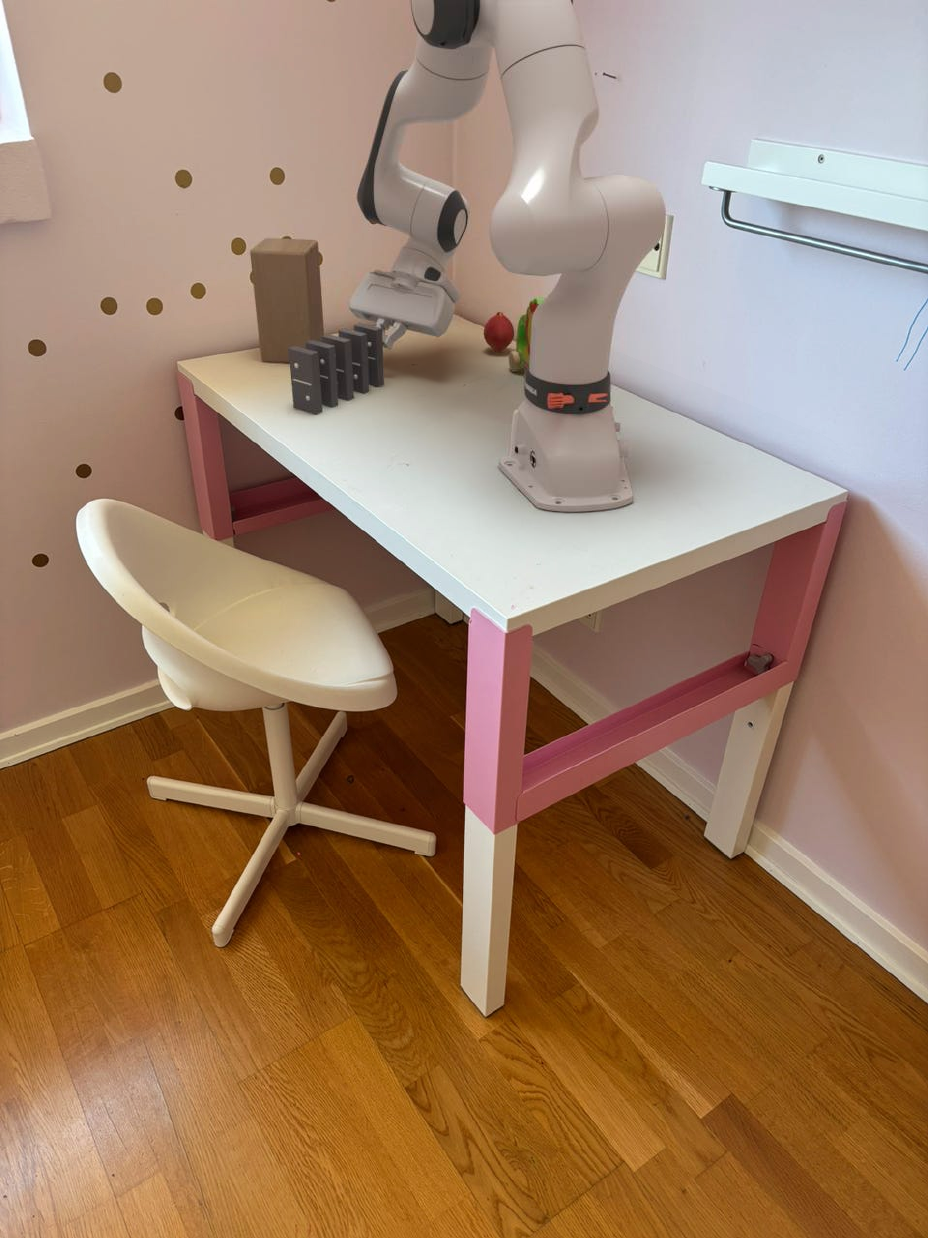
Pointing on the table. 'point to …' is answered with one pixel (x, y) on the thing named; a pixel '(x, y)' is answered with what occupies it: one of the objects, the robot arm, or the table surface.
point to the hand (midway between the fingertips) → (381, 345)
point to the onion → (499, 332)
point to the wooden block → (286, 295)
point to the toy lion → (523, 339)
